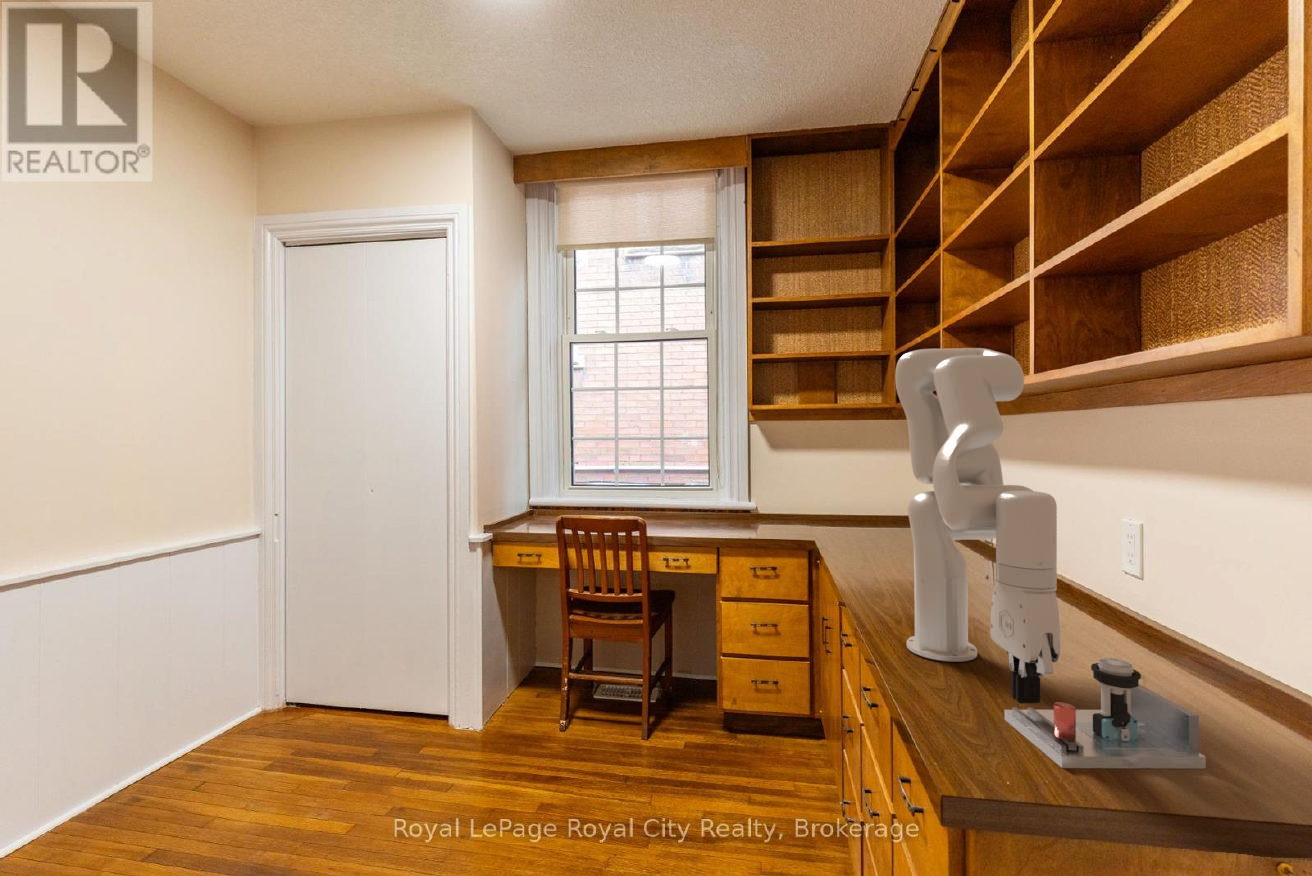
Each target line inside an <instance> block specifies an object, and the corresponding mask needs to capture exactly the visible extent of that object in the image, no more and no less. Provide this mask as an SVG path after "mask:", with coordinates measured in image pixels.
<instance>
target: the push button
mask: <svg viewBox="0 0 1312 876" xmlns="http://www.w3.org/2000/svg"><path fill="white" fill-rule="evenodd" d="M1090 668H1091V669H1090V670H1091V671H1092V673H1093V674H1092V677H1093V679H1095V680H1096V681H1097V682H1099V684H1100V710H1101V711H1100V713H1094V714H1093V732H1094V733H1096V734H1097V735H1099V736H1101V737H1102V738H1104V739H1105V740H1123V741H1129V740H1130V739H1137V737H1138V733H1143V732H1145V731H1144V730H1142V729H1138V727H1139V726H1145V724H1143V723H1141V722H1138V720H1137V719H1135V718H1133V717H1131V716H1130V715H1132V712H1131V689H1132V688H1135V687H1138V686H1139V685H1140V684H1139V680H1141V678H1142V675H1141V672H1139V671H1138V670H1136V669H1134V668H1133V665H1132V664H1131V663H1130V662H1128V661H1125V660H1121V659H1118V658H1112V657H1111V658H1110V657H1102V658H1099V660H1098V662H1094V663H1092V664H1091V665H1090ZM1140 724H1141V725H1140ZM1138 730H1140V731H1138Z"/></svg>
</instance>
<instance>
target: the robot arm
mask: <svg viewBox="0 0 1312 876" xmlns="http://www.w3.org/2000/svg"><path fill="white" fill-rule="evenodd" d="M894 377H895V380H894V381H895V388H896V393H897V396H898V398H899V402H900V403H901V407H902V410H903V411H904V414H905V418H906V422H907V431H908V440H909V452H910V461H911V468H912V472H913V476H914V478H915V479H916V480H917V481H918V482H920V483H922V484H925V485H933V487H932V488H933V490H928V491H924V492H920V493H917V494H916V495H915V496H913V497H912V499H910V501H909V504H908V508H907V509H908V510H907V513H908V520H909V526H910V531H911V537H912V545H913V548H912V549H913V570H914V571H913V574H914V575H913V576H914V577H913V578H914V579H913V580H914V581H913V582H914V583H913V585H914V590H913V591H914V596H913V597H914V623H913V624H914V635H912V636H910V637H909V638H908V639H906V647H907V649H908V650H909V651H910V652H911V653H913V654H915V655H917V656H920V657H923V658H925V659H926V658H927V659H931V660H934V661H939V662H940V661H941V662H951V663H952V662H953V663H955V662H956V663H960V662H961V663H962V662H969V661H972V660H974V659H976V658H977V657H978V649H977V647H976V646H975V645H973V644H972V643H970V642H969V610H968V609H969V607H968V606H969V602H968V600H969V599H968V598H969V597H968V593H969V592H968V590H969V588H968V581H969V580H968V563H967V560H966V558H965V556H964V555H963V553H961V551H960V550H959V549H958V548H957V546H956V545H955V543H954V541H961V540H975V541H976V540H977V541H978V540H995V582H994V587H993V591H992V597H991V608H990V609H991V611H990V612H991V613H990V631H989V632H990V638H991V640H992V641H993V642H994V643H995V644H996V645H998V646H999V647H1000V648H1002V649H1003V650H1004V651H1005V652H1006V653H1007V655H1008V664H1009V665H1008V666H1009V668H1010V670H1011V698H1012V699H1014V700H1015V701H1016V702H1017V703H1019V704H1040V702H1041V678H1043V675H1052V674H1054V666H1053V663H1057V662H1058V661H1059V659H1060V657H1061V656H1060V655H1061V642H1062V641H1061V624H1060V623H1061V622H1060V612H1059V605H1058V599H1057V593H1056V591H1057V586H1058V585H1057V583H1058V582H1057V581H1058V580H1057V575H1058V574H1057V573H1058V571H1057V570H1058V569H1057V568H1058V567H1057V565H1058V564H1057V563H1058V561H1057V560H1058V558H1057V555H1058V552H1057V550H1058V549H1057V547H1058V546H1057V544H1058V543H1057V541H1058V540H1057V537H1058V536H1057V534H1058V533H1057V530H1058V529H1057V527H1058V526H1057V524H1058V523H1057V522H1058V521H1057V518H1058V516H1057V513H1058V511H1057V509H1058V508H1057V501H1056V499H1055V497H1054V496H1053V495H1051V494H1049V493H1047V492H1044V491H1043V492H1041V491H1034V490H1033V489H1031V488H1029V487H1027V486H1024V485H1017V484H1004V479H1003V472H1002V466H1001V465H1002V464H1001V459H1000V455H999V452H998V450H997V449H996V447H995V445H994V444H993V443H994V442H995V441H997V439H999V438H1000V437H1001V435H1002V434H1003V432H1004V427H1005V426H1004V422H1003V420H1002V417H1001V414H1000V411H999V409H998V405H997V402H1010V401H1013V400H1016V399H1017V398H1018V397H1019V396H1020V395H1021V394H1022V392H1023V390H1024V385H1025V375H1024V371H1023V368H1022V366H1021V365H1020V363H1019V361H1017V360H1016V358H1015V357H1014V356H1012V355H1009V354H1007V353H1003V352H1000V351H995V350H993V349H990V348H989V349H988V348H984V347H983V348H982V347H962V348H959V347H958V348H957V347H956V348H954V347H953V348H951V347H949V348H942V347H941V348H921V349H916V350H912V351H909V352H906V353H904V354H903V355H902V356H901V357H900V358H898V360H897V363H896V367H895V375H894ZM933 392H936V394H934V393H933ZM936 395H937V396H936Z"/></svg>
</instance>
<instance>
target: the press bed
mask: <svg viewBox="0 0 1312 876" xmlns="http://www.w3.org/2000/svg"><path fill="white" fill-rule="evenodd" d="M1100 711H1101V709H1076V740H1075V742H1076V749H1077V750H1068V749H1067V748H1066V746H1065V745H1064V744H1063V743H1062V742H1060V741H1059V740H1058V739H1056V738H1055V737H1054V709H1034V708H1033V707H1032V706H1031V707H1027V709H1019V708H1018V707H1016V706H1014V707H1012V708H1011V709H1004V720H1005V722H1007V723H1008V724H1009V725H1010V726H1012V727H1013V728H1014V729H1015V730H1016V731H1018V733H1020V734H1021V735H1023V737H1025V738H1026V739H1027V740H1028V741H1029V742H1030V743H1032V744H1033V745H1034V746H1035V747H1036V748H1037V749H1039V750H1040V751H1041V752H1042V753H1043V754H1045V755H1046V756H1047V757H1048V758H1049V759H1051V761H1052V762H1054V763H1056V765H1058V766H1059V767H1060V768H1061V769H1180V770H1181V769H1197V770H1199V769H1200V770H1201V769H1207V768H1206V767H1207V763H1206V762H1207V758H1206V757H1207V756H1205V755H1204V754H1202V753H1200V735H1199V734H1200V731H1199V730H1200V728H1199V727H1200V726H1199V725H1200V724H1199V715H1198V714H1197V713H1195V712H1193V711H1191V710H1188V709H1187V708H1185V707H1183V706H1181V705H1179V704H1178V703H1175V702H1174V701H1172V700H1169V699H1168V698H1166V697H1164V696H1162V695H1160V694H1158V693H1157V692H1155V691H1152V690H1151V689H1149V688H1147V687H1145V686H1144V685H1142V684H1139V686H1138V687H1135V688H1132V689H1131V712H1132V715H1130V716H1131V717H1133V718H1135V719H1137V720H1138V722H1141V723H1143V724H1145V726H1139V727H1138V729H1142V730H1144V731H1145V732H1143V733H1138V737H1137V739H1130V740H1129V741H1123V740H1105V739H1104V738H1102V737H1101V736H1099V735H1097V734H1096V733H1094V732H1093V714H1094V713H1100ZM1140 725H1141V724H1140ZM1138 731H1140V730H1138Z"/></svg>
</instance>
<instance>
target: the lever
mask: <svg viewBox="0 0 1312 876" xmlns="http://www.w3.org/2000/svg"><path fill="white" fill-rule="evenodd" d="M1053 710H1054V737H1055V738H1056V739H1058V740H1059V741H1060V742H1062V743H1063V744H1064V745H1065V746H1066V748H1067V749H1068V750H1077V749H1076V742H1075V740H1076V710H1077V709H1076V707H1075V705H1072V704H1070V703H1066V702H1064V701H1063V702H1062V701H1060V702H1059V701H1056V702H1054V703H1053Z"/></svg>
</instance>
